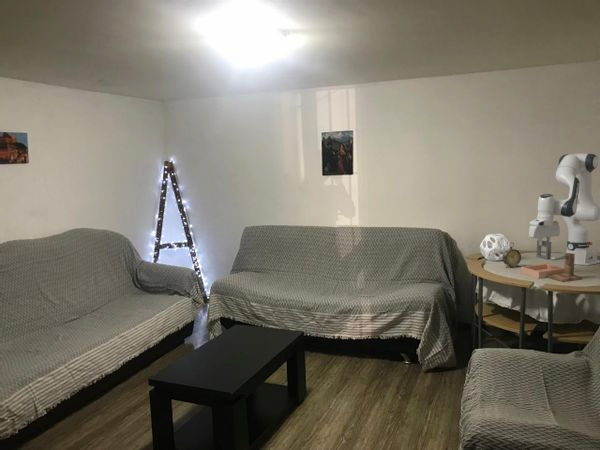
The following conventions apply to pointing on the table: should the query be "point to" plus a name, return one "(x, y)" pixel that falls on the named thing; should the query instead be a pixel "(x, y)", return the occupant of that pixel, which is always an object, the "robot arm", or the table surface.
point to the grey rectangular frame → (548, 250)
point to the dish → (541, 270)
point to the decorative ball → (494, 246)
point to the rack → (566, 269)
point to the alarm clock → (511, 257)
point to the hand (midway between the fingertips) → (544, 244)
